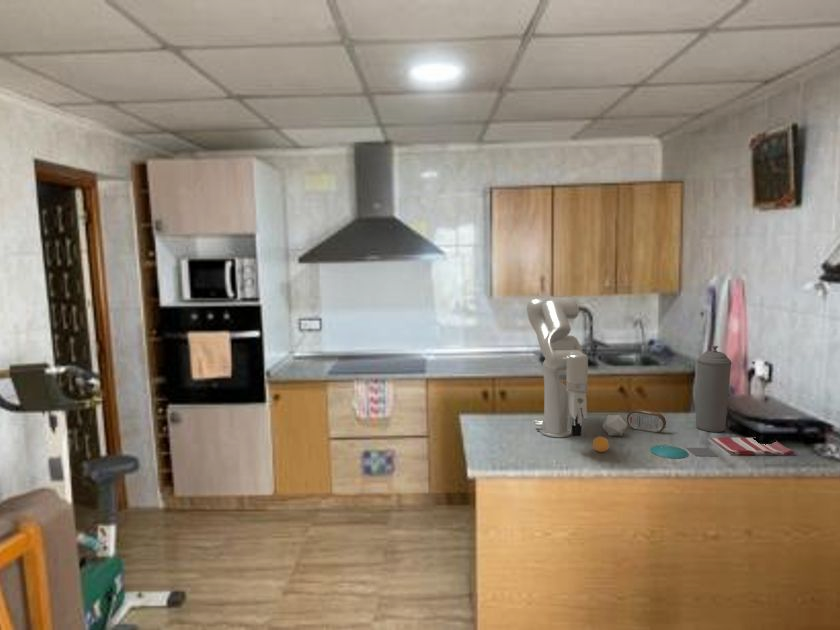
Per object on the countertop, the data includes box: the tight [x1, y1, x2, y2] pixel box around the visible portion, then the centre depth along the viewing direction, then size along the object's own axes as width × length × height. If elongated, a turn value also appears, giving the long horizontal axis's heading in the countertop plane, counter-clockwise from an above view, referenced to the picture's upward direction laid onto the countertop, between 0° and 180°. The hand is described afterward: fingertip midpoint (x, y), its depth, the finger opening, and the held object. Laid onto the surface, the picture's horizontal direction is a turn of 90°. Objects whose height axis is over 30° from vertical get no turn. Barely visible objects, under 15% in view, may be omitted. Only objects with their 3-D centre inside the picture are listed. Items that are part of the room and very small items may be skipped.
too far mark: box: [686, 447, 719, 457], centre depth 205 cm, size 8×8×1 cm
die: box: [602, 414, 628, 437], centre depth 225 cm, size 8×9×10 cm
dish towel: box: [708, 436, 795, 457], centre depth 209 cm, size 17×23×3 cm
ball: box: [592, 436, 610, 453], centre depth 207 cm, size 6×6×6 cm
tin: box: [626, 408, 667, 434], centre depth 229 cm, size 15×3×8 cm, turn 58°
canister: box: [695, 345, 733, 433], centre depth 229 cm, size 13×13×35 cm
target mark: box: [649, 444, 689, 460], centre depth 206 cm, size 13×13×1 cm
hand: (576, 435), depth 206 cm, fingers closed
